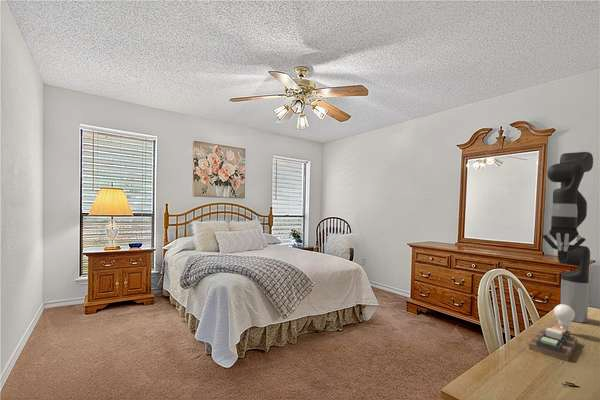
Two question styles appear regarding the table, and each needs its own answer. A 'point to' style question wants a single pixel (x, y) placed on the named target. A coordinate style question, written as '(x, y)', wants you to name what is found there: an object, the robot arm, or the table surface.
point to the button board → (560, 351)
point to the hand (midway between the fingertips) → (562, 260)
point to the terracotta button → (559, 329)
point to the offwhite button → (554, 333)
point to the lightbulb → (564, 315)
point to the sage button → (549, 341)
